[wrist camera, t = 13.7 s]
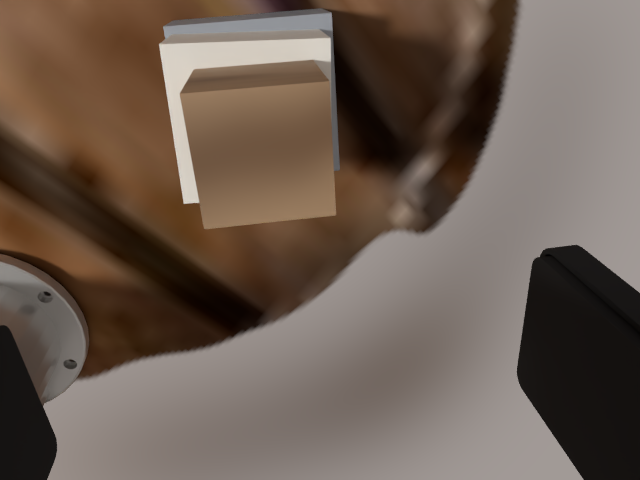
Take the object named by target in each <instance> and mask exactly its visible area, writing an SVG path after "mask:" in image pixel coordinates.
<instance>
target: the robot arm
mask: <svg viewBox="0 0 640 480" xmlns="http://www.w3.org/2000/svg"><path fill="white" fill-rule="evenodd" d="M88 347H89V334H88V327H87V324H86V321H85V318H84V315H83V313H82V311H81V309H80V308H79V306H78V304H77V303H76V301H75V300H74V298H73V297H72V296H71V295H70V294H69V293H68V292H67V291H66V289H65V288H64V287H63V286H62V285H60V284H59V283H58V282H57V281H55V280H54V279H53V278H52V277H50V276H49V275H48V274H46V273H45V272H43V271H41V270H39V269H38V268H36V267H34V266H32V265H31V264H29V263H26V262H23V261H21V260H18V259H16V258H13V257H11V256H7V255H3V254H0V480H47V478H48V476H49V473H50V471H51V468H52V466H53V463H54V460H55V457H56V452H57V442H56V437H55V434H54V432H53V429H52V427H51V425H50V422H49V420H48V418H47V416H46V413H45V410H44V408H43V405H44V403H46V402H48V401H50V400H52V399H54V398H55V397H57V396H58V395H60V394H61V393H63V392H64V391H65V390H66V389H67V388H68V387H69V386H70V385H71V384H72V383H73V382H74V381H75V380H76V378H77V376H78V375H79V373H80V371H81V370H82V367H83V365H84V362H85V360H86V357H87V353H88ZM517 376H518V380H519V384H520V386H521V388H522V390H523V391H524V393H525V394H526V396H527V397H528V399H529V400H530V401H531V403H532V404H533V406H534V407H535V409H536V410H537V412H538V413H539V414H540V416H541V418H542V419H543V420H544V422H545V423H546V425H547V426H548V428H549V429H550V431H551V432H552V434H553V435H554V437H555V438H556V439H557V441H558V443H559V444H560V445H561V447H562V448H563V450H564V451H565V453H566V454H567V456H568V457H569V459H570V460H571V462H572V463H573V465H574V466H575V467H576V469H577V470H578V472H579V473H580V475H581V476H582V478H583V479H584V480H640V293H639V292H638V291H636V290H635V289H634V288H633V287H631V286H630V285H629V284H628V283H626V282H625V281H624V280H622V279H621V278H620V277H619V276H617V275H616V274H615V273H613V272H612V271H611V270H610V269H608V268H607V267H606V266H605V265H603V264H602V263H601V262H600V261H598V260H597V259H596V258H595V257H593V256H592V255H591V254H590V253H588V252H587V251H586V250H585V249H583V248H582V247H580V246H578V245H572V246H564V247H555V248H548V249H545V250H543V252H542V253H541V255H540V257H538V258H536V259H535V260H534V261H533V264H532V269H531V276H530V283H529V290H528V297H527V303H526V311H525V317H524V325H523V332H522V339H521V345H520V352H519V359H518V366H517Z"/></svg>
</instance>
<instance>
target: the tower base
mask: <svg viewBox="0 0 640 480" xmlns="http://www.w3.org/2000/svg"><path fill="white" fill-rule="evenodd" d="M163 29H164V34H165V39H167V38H168V37H169V36H170V35H172V34H192V33H220V32H249V31H278V30H306V29H320V30H321V31H322V32H324V33H325V34H326V35H327V36H329V37H330V38H331V114H332V142H333V163H334V171H337V170H340V165H339V145H338V126H337V106H336V87H335V67H334V48H333V28H332V13H331V12H329V11H327V10H324V9H309V10H297V11H285V12H272V13H260V14H248V15H235V16H223V17H211V18H198V19H186V20H174V21H172V22H170V23H168V24H167V25H165V26H163Z"/></svg>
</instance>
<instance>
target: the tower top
mask: <svg viewBox="0 0 640 480" xmlns="http://www.w3.org/2000/svg"><path fill="white" fill-rule="evenodd" d="M159 47H160V53H161V60H162V66H163V73H164V79H165V85H166V92H167V98H168V105H169V111H170V117H171V124H172V130H173V137H174V143H175V150H176V156H177V162H178V169H179V175H180V182H181V188H182V194H183V201H184V204H186V203H199V198H198V192H197V187H196V181H195V176H194V170H193V165H192V159H191V154H190V148H189V143H188V137H187V132H186V126H185V121H184V116H183V110H182V105H181V99H180V92H181V90H182V89H183V87H184V85H185V83H186V82H187V80H188V78H189V77H190V75H191V73H192V71H193V70H194V69H203V68H215V67H228V66H240V65H253V64H265V63H277V62H290V61H302V60H314V61H315V63H316V64H317V65H318V67H319V68H320V69H321V71H322V72H323V73H324V75H325V76H326V77H327V78H328V80H329V81H330V101H331V38H330V37H329V36H327V35H326V34H325V33H324V32H322V31H321V30H320V29H306V30H278V31H249V32H220V33H192V34H172V35H170V36H169V37H168V38H167V39H165V40H164V41H163V42H161V43H160V44H159ZM331 122H332V114H331Z"/></svg>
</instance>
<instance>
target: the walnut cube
mask: <svg viewBox="0 0 640 480" xmlns="http://www.w3.org/2000/svg"><path fill="white" fill-rule="evenodd" d="M180 99H181V105H182V110H183V116H184V121H185V126H186V132H187V137H188V143H189V148H190V154H191V159H192V165H193V170H194V176H195V181H196V187H197V192H198V198H199V203H200V209H201V214H202V220H203V225H204V229H211V228H221V227H230V226H240V225H249V224H259V223H268V222H278V221H287V220H297V219H306V218H316V217H325V216H334V215H336V204H335V184H334V163H333V142H332V122H331V101H330V81H329V80H328V78H327V77H326V76H325V75H324V73H323V72H322V71H321V69H320V68H319V67H318V65H317V64H316V63H315V61H314V60H302V61H290V62H277V63H265V64H253V65H240V66H228V67H215V68H203V69H194V70H193V71H192V73H191V75H190V77H189V78H188V80H187V82H186V83H185V85H184V87H183V89H182V90H181V92H180Z"/></svg>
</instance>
